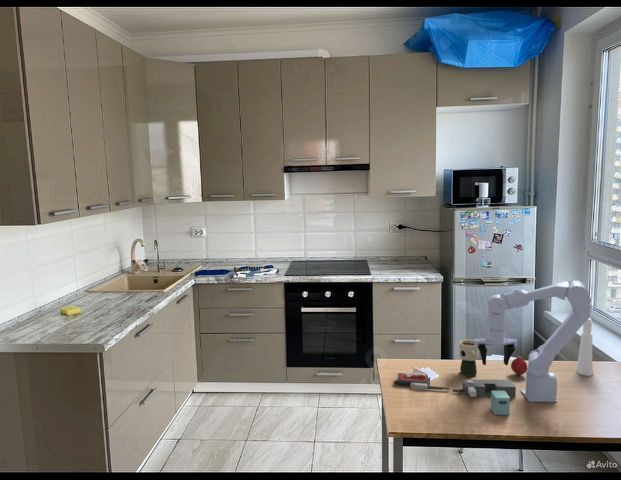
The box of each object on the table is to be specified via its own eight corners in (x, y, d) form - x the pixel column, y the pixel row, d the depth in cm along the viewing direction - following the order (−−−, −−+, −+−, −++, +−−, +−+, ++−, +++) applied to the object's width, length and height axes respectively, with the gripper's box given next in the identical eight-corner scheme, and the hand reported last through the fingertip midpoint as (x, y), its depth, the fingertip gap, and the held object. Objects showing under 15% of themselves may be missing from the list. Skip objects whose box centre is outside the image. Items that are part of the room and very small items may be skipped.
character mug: (454, 368, 188) (455, 337, 186) (472, 367, 188) (473, 337, 186) (463, 380, 178) (464, 348, 176) (482, 379, 178) (483, 347, 176)
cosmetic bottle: (573, 368, 185) (576, 315, 182) (589, 369, 184) (593, 316, 180) (578, 375, 179) (582, 320, 176) (596, 376, 178) (599, 321, 174)
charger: (502, 404, 159) (502, 387, 158) (509, 415, 152) (510, 398, 151) (488, 404, 159) (489, 387, 158) (495, 415, 152) (495, 398, 151)
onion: (512, 371, 184) (513, 351, 183) (528, 374, 181) (529, 354, 180) (509, 376, 180) (509, 356, 179) (525, 380, 176) (526, 360, 175)
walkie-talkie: (394, 389, 173) (449, 393, 168) (394, 378, 172) (450, 382, 168) (395, 379, 181) (448, 383, 177) (395, 368, 181) (448, 372, 176)
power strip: (509, 390, 169) (510, 378, 168) (515, 397, 164) (515, 385, 163) (451, 389, 171) (451, 377, 170) (454, 396, 165) (455, 384, 164)
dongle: (472, 390, 165) (472, 385, 165) (476, 396, 161) (476, 391, 161) (467, 390, 165) (467, 385, 165) (470, 396, 161) (470, 391, 161)
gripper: (513, 324, 169) (511, 359, 172) (472, 324, 171) (471, 359, 173) (520, 331, 162) (518, 367, 165) (477, 331, 164) (476, 367, 166)
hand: (494, 364), depth 168 cm, fingers open, 7 cm apart
